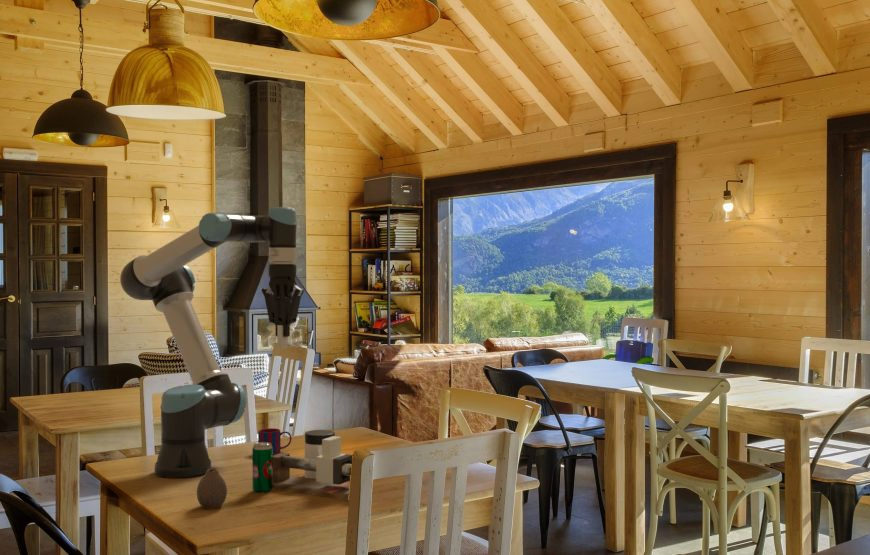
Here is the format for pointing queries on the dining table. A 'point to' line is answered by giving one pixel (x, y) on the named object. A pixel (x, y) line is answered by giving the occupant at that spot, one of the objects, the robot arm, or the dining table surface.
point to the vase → (211, 490)
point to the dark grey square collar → (340, 469)
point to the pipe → (308, 464)
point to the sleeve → (328, 459)
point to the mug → (272, 438)
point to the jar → (315, 446)
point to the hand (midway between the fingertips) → (282, 348)
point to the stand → (305, 482)
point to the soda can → (262, 467)
